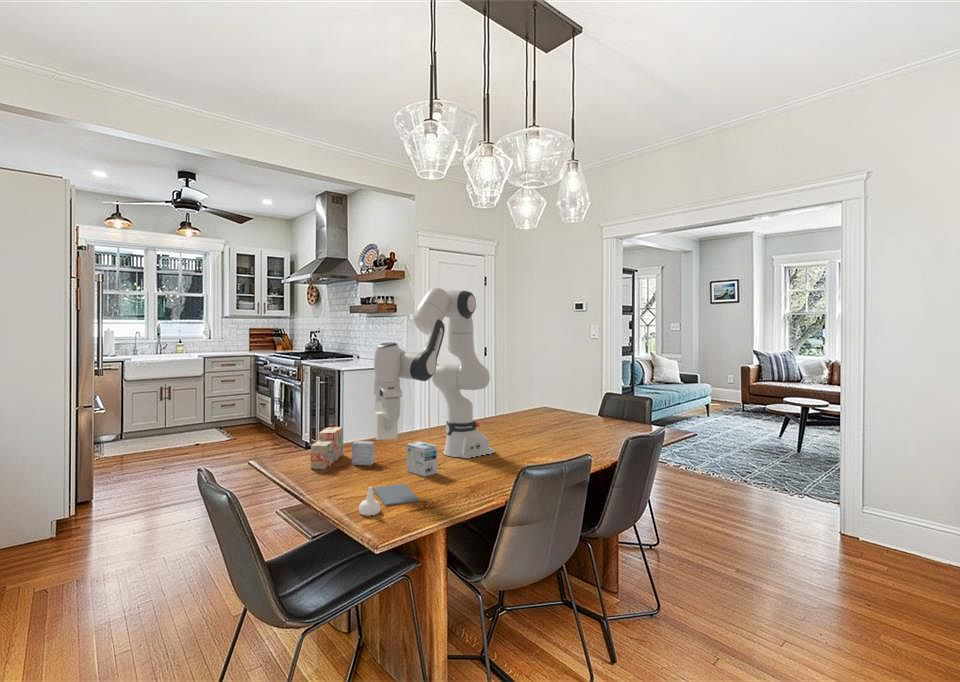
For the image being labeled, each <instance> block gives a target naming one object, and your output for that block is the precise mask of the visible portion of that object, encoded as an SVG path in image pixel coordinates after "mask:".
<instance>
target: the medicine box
mask: <svg viewBox="0 0 960 682" xmlns="http://www.w3.org/2000/svg"><path fill="white" fill-rule="evenodd" d="M374 463H375V442H374V441H366V440H364V441H363V440H359V441H358V440H356V441H354V442H353V443H351V465H352V466H353V465H354V466H355V465H356V466H372V465H373V464H374Z"/></svg>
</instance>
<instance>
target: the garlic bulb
mask: <svg viewBox="0 0 960 682" xmlns="http://www.w3.org/2000/svg"><path fill="white" fill-rule="evenodd" d="M366 494H367V496H366V499H364V500H362V501H361V503H360V504H359V505H358V506H359V507H358V513H359V514H360V515H361V516H364V515H365V516H364V517H366V516H367V517H371V515H373V516H376V515H378V514H379V513H380V511H381V504H380V502H379V501H378V500H376V499H375V498H374V490H373V486H368V490H367V493H366Z"/></svg>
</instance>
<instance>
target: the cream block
mask: <svg viewBox="0 0 960 682" xmlns="http://www.w3.org/2000/svg"><path fill="white" fill-rule="evenodd" d="M398 423H399V419H398V420H394V421H393V422H392V426H391V431H386V430H385V425H386V418H384V417H383V414H382V413H381V412H376V411H375V412H374V439H375V440H376V441H384V440H387V441H388V440H397V439H398V431H399V430H398V426H399V425H398Z"/></svg>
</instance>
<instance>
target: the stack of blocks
mask: <svg viewBox="0 0 960 682" xmlns="http://www.w3.org/2000/svg"><path fill="white" fill-rule="evenodd" d="M318 434H319V435H318V438H319V439H318V440H317V441H315V442H314V443H313V444H311V446H310V469H311V468H313V469H315V470H327V469H328V468H329V467H330V466H332V465H333V464H334V463H335V462H336V461H337V460H339V459H340V458H341V457H342V456H343V455H344V449H343V448H344V445H343V443H344V427H342V426H328V427H326V428H324V429H322V430H321V431H319V433H318ZM340 456H341V457H340ZM339 457H340V458H339ZM338 458H339V459H338ZM334 461H335V462H334ZM332 463H333V464H332ZM331 464H332V465H331ZM328 466H329V467H328ZM327 467H328V468H327ZM326 468H327V469H326ZM313 469H312V470H313Z"/></svg>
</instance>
